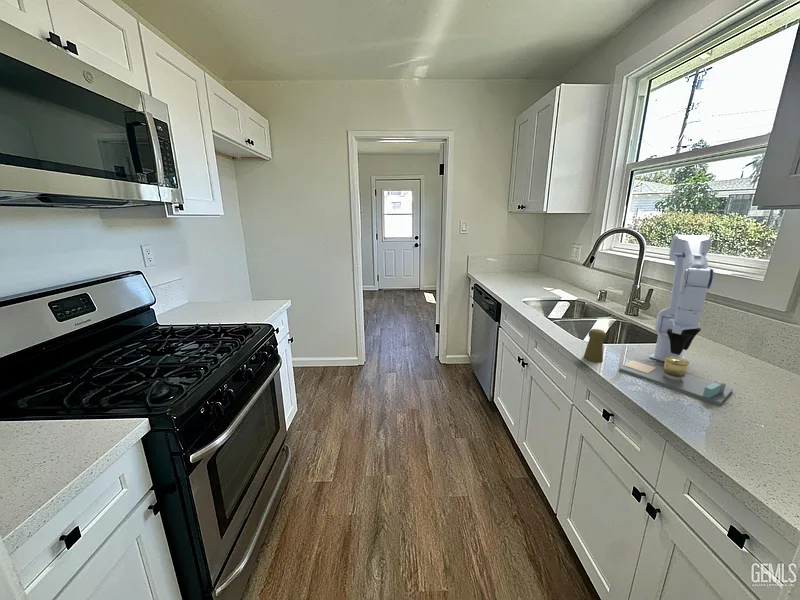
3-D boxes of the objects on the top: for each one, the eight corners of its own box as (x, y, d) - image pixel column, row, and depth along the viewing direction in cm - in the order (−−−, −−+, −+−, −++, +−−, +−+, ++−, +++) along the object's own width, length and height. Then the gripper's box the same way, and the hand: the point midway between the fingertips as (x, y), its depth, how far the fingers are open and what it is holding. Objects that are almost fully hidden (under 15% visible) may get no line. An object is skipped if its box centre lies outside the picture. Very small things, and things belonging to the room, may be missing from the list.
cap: (665, 367, 107) (668, 354, 105) (688, 374, 102) (692, 361, 101) (659, 372, 103) (662, 358, 102) (682, 379, 99) (685, 365, 98)
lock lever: (714, 388, 96) (716, 380, 96) (725, 392, 94) (727, 383, 94) (700, 394, 93) (702, 386, 92) (711, 399, 91) (713, 390, 90)
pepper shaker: (601, 364, 114) (606, 334, 112) (582, 359, 118) (586, 330, 115) (603, 358, 119) (608, 329, 116) (584, 354, 123) (589, 326, 120)
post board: (635, 361, 117) (636, 354, 116) (732, 391, 97) (734, 383, 96) (618, 370, 110) (620, 363, 109) (719, 405, 90) (722, 397, 89)
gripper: (680, 302, 105) (671, 342, 108) (663, 309, 96) (654, 352, 100) (710, 307, 99) (699, 349, 102) (694, 315, 91) (683, 360, 94)
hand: (679, 351), depth 101 cm, fingers open, 6 cm apart
